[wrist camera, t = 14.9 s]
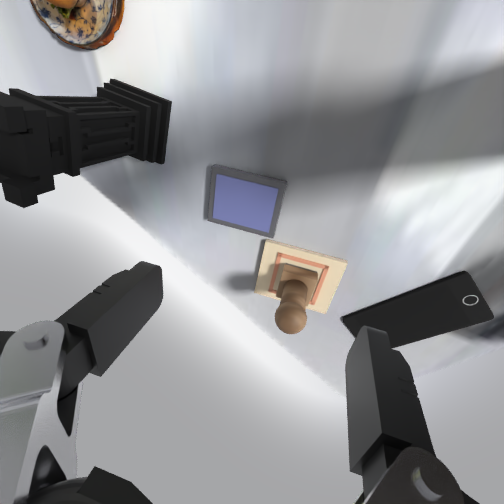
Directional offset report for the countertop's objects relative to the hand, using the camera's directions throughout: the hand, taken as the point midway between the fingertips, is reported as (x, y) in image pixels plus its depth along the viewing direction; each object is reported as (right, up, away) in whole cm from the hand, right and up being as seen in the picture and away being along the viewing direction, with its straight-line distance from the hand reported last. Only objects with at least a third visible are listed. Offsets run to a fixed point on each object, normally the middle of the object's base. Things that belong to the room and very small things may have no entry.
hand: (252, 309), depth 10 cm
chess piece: (-15, +20, +25) cm, 35 cm away
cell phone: (+24, -7, +30) cm, 39 cm away
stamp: (+7, -2, +30) cm, 31 cm away
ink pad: (-1, +9, +27) cm, 28 cm away
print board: (+7, -2, +31) cm, 32 cm away
